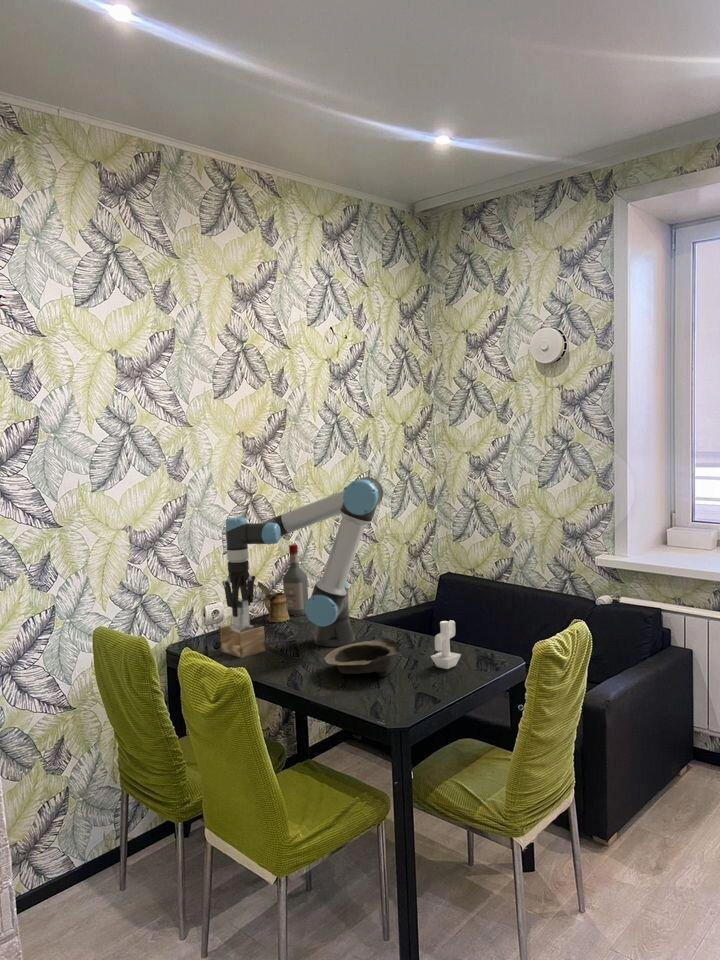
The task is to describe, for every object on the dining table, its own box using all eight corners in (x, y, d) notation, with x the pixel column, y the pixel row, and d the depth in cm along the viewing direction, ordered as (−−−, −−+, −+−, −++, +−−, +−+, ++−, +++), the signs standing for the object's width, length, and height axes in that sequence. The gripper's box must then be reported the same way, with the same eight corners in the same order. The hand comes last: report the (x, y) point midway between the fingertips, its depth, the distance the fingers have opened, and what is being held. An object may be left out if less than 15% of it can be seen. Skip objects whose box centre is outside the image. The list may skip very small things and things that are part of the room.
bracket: (253, 629, 269) (252, 599, 268) (240, 633, 265) (238, 602, 264) (242, 626, 274) (241, 596, 273) (229, 629, 270) (227, 600, 269)
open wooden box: (265, 650, 269) (264, 626, 268) (241, 658, 262) (240, 633, 261) (245, 644, 278) (243, 621, 277) (221, 651, 271) (219, 627, 270)
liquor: (302, 616, 315) (298, 547, 313) (282, 615, 318) (278, 547, 316) (310, 611, 324) (307, 543, 321) (292, 610, 327) (288, 543, 325)
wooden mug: (254, 622, 309) (252, 580, 308) (282, 616, 317) (280, 575, 316) (265, 626, 302) (263, 583, 301) (293, 620, 310) (291, 577, 309)
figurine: (428, 667, 242) (426, 623, 241) (445, 660, 249) (444, 616, 248) (446, 672, 237) (444, 626, 236) (463, 664, 244) (461, 619, 243)
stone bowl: (416, 672, 238) (414, 645, 236) (351, 696, 225) (348, 667, 223) (374, 653, 258) (372, 628, 257) (313, 674, 245) (309, 647, 244)
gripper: (249, 556, 275) (252, 618, 277) (213, 562, 264) (217, 627, 266) (261, 558, 270) (264, 621, 272) (225, 565, 259) (229, 630, 261)
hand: (241, 624), depth 269 cm, fingers closed on bracket, 2 cm apart
